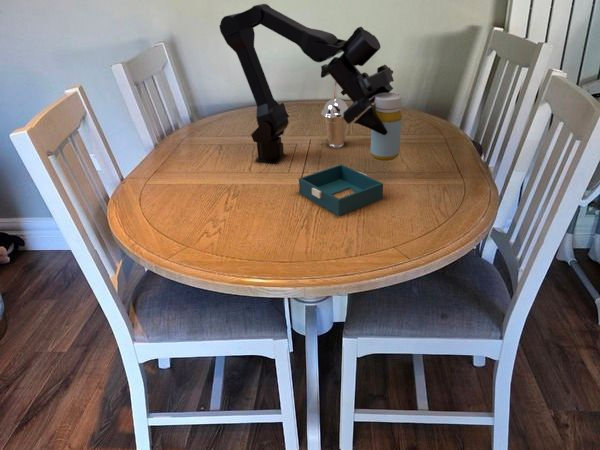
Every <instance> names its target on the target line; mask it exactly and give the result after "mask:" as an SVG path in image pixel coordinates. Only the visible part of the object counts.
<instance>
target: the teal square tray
mask: <svg viewBox="0 0 600 450" xmlns="http://www.w3.org/2000/svg"><path fill="white" fill-rule="evenodd" d="M298 189H299V191H298V193H299V194H300V195H302V196H303V197H305V198H307V199H309V201H311V202H314V203H315V204H317V205H319V206H320V207H322V208H324V209H326V210H327V211H329V212H331V213H332V214H334V215H336V216H338V217H341V216H343V215H346V214H348V213H350V212H353V211H356V210H358V209H361V208H363V207H365V206H369V205H371V204H373V203H376V202H378V201H380V200H383V197H384V183H383V182H381V181H379V180H377V179H374V178H372V177H370V176H368V174H366V173H364V172H361V171H357V170H356V169H353V168H350V167H348V166H346V165H344V164H342V163H340V164H338V165H334V166H331V167H329V168H326V169H322V170H320V171H317V172H313V173H310V174H308V175H305V176H302V177H299V178H298ZM346 190H351V191H353V193H350V194H348V195H345V196H341V197H340V198H339V197H337V196H335V194H338V193H341V192H343V191H346Z"/></svg>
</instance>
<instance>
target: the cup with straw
mask: <svg viewBox="0 0 600 450" xmlns="http://www.w3.org/2000/svg"><path fill="white" fill-rule="evenodd" d="M337 85H338V83H337V82H336V81H335V80H334V82H333V98H332V99H330V100H329V101H327V102H326V103H325V105H324V107H323V109H321V116H323V119H324V123H325V126H326V135H327V142H328V146H329V147H330V148H334V149H339V148H342V147H344V146H345V140H346V130H347V124H348V123H347V122H346V121H345V120H344V118H343V113H344V112H345V111H346V110H347V109H348V108H349V107H348V105H347V103H346V102H345V101H344V100H343V99H340V98H338V97H337Z"/></svg>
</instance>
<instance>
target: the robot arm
mask: <svg viewBox="0 0 600 450" xmlns="http://www.w3.org/2000/svg"><path fill="white" fill-rule="evenodd" d="M259 25H261V26H263V27H265V28H267V29H269V30H271V31H272V32H274V33H276V34H278V35H279V36H281V37H283V38H285V39H286V40H288V41H290V42H292V43H294V44H295V45H297V46H298V47H299V48H300V50H301V51H302V53H303V54H304V55H306V56H307V57H308V58H309V59H311V61H313V62H316V63H322V62H326V61H327V60H330V59H331V58H332V59H331V60H330V61H329V62H328V63H327V64H326V63H325V64H323V65H321V66H320V69H321V72H320V78H321V79H323V78H325V77H327V76H331V77H332V79H333V80H334V82H335V81H336V82H337V85H338V86H339V87H340V89H342V90H341V91H340V94H341V95H342V96H345V95H346V96H347V97H348V99H350V101H351V102H352V104H351V105H349V107H348V109H347V110H346V111H345V112H344V113H343V118H344V120H345V121H346V122H347V123H346V124H347V125H350V124H351V123H354V124H355V125H356V124H357V125H360V126H361V127H362V126H363V127H365V128H367V129H369V130H371V129H372V130H374V131H376V132H378V133H380V134H382V135H386V134H387V133H388V132H387V130H386V128H385V127H384V125H383V123H382V122H381V120H380V119H379V117H378V116H377V114H376V104H374V101H375V95H376V94H379V93H391V91H392V90H394V87H393V86H392V85H391V82H394V81H395V80H394V78H393V74H394V70H393V69H391V67H388V66H387V64H382V65H381V66H379V67H377V69H376V72H375V73H373V74H371V75H369V74H368V73H367V72H361V71H360V70H359V69H358V68H357V66H359V67H363V66H365V64H366V63H368V61H369V60H370V59H371V58H373V56H374V55H375V54H377V52H378V51H380V49H381V43H380V41H379V39H378V38H377V37H376V35H374V34H373V33H371V32H370V31H368V30H366V29H364V27H362V26H358V27H356V29H354V31H353V32H352V34H351V36H349V37H348V38H347V40H346V39H341V38H338V37H337V36H336V35H335V34H333V33H331V32H328V31H325V30H322V29H317V28H310V27H308V26H306V25H303V24H302V23H300V22H299V21H296V20H294V19H293V18H291V17H289V16H287V15H285V14H283V13H281V11H278V10H277V9H274V8H272V7H271V6H270V5H269V4H267V3H261V4H256V5H253V6H252V7H250V8H248V9H247V10H245V11H243V12H238V13H233V14H229V15H224V16H223V17H222V18H221V20H220V24H219V31H220V33H221V35H222V38H223V39H224V41H225V43H226V44H227V45H228V47H229V48H231V50H232V51H234V52H235V54H236V56H237V58H238V60H239V63H240V66H241V68H242V71H243V74H244V76H245V79H246V81H247V84H248V86H249V89H250V91H251V94H252V96H253V99H254V102H255V104H256V115H255V116H256V117H255V118H256V122H257V126H258V127H256V128H255V129H254V131H253V132H252V133H251V135H250V136H251V139H252V141H253V143H256V151H257V158H256V159H255V162H258V163H266V164H278V163H279V162H280V161H281V160H282V159H283V158H284V157H285V155H286V154H285V152H284V151H285V150H284V142H282V137H281V136H283V135H284V134H285V133H284V132H285V130H286V129H287V128H288V125H289V117H290V115H289V114H288V112H287V110H286V105H285V104H284V102H281V103H278V101H277V100H276V99H275V98H274V96H273V93H272V91H271V87H270V85H269V83H268V80H267V78H266V75H265V72H264V70H263V69H264V68H263V67H262V64H261V62H260V58H259V56H258V53H257V51H256V48H255V37H256V35H255V34H256V33H255V30H254V28H256V27H258V26H259ZM341 53H342V54H341ZM339 54H341V55H340V56H336V55H339Z"/></svg>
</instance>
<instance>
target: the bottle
mask: <svg viewBox="0 0 600 450" xmlns="http://www.w3.org/2000/svg"><path fill="white" fill-rule="evenodd" d="M374 104H376V114H377V116H378V117H379V119H380V120H381V122H382V123H383V125H384V127H385V128H386V130H387V132H388V133H387V134H386V135H382V134H380V133H378V132H376V131H374V130H372V129H370V130H371V131H370V148H369V149H370V150H369V151H370V156H371V157H372V158H373V159H375V160H378V161H381V162H385V161H386V162H387V161H388V162H389V161H392V160H395V159H397V158H398V157H399V156H400V146H401V132H402V120H403V118H402V117H403V115H402V111H401V108H402V107H401V106H402V95H401V94H400V93H396V92H389V93H379V94H376V95H375V101H374Z"/></svg>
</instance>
